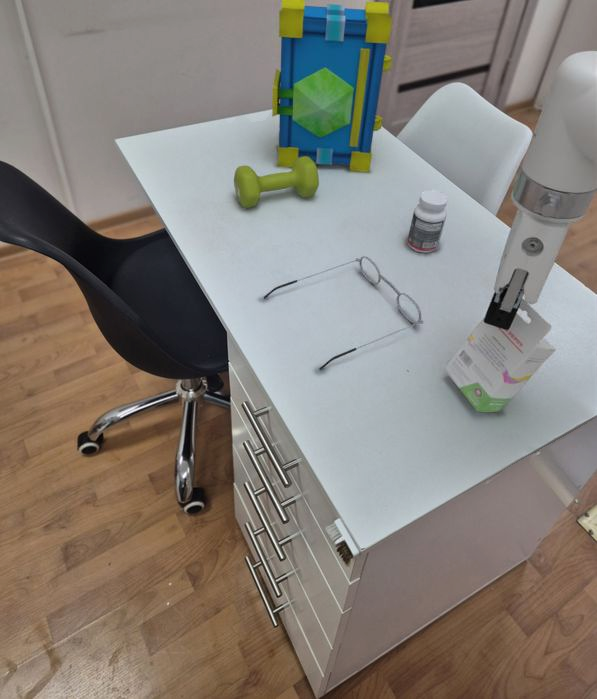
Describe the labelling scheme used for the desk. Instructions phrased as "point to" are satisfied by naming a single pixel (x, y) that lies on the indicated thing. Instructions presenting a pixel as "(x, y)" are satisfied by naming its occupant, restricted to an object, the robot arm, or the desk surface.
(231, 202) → the desk surface
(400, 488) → the desk surface
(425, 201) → the pill bottle
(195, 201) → the desk surface
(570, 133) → the robot arm
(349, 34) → the decorative book
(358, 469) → the desk surface
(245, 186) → the dumbbell
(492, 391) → the ink box
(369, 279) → the eyeglasses
